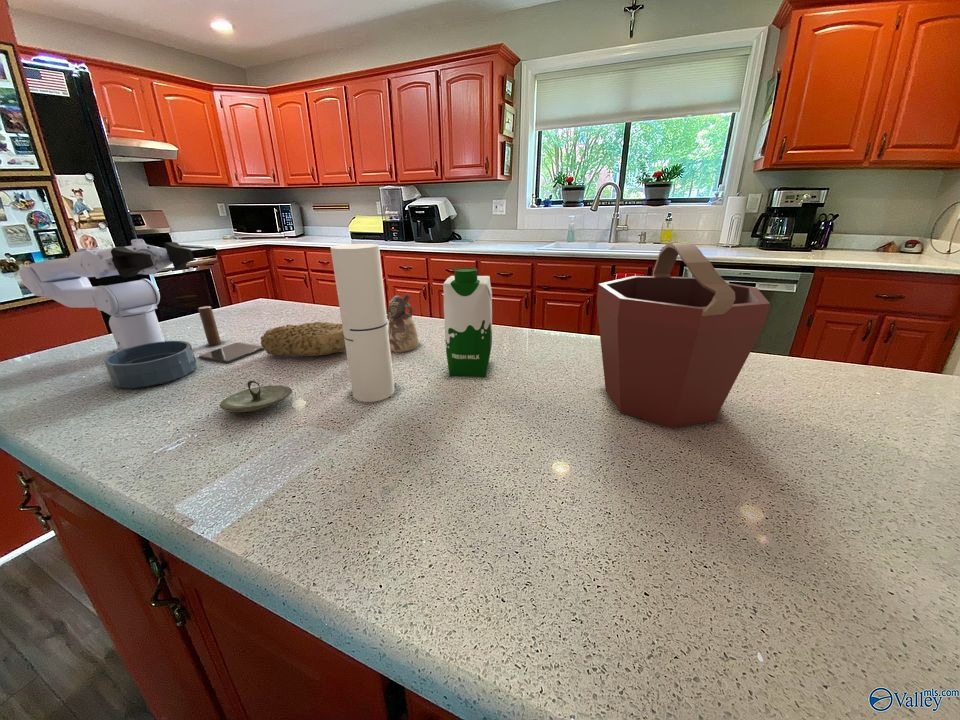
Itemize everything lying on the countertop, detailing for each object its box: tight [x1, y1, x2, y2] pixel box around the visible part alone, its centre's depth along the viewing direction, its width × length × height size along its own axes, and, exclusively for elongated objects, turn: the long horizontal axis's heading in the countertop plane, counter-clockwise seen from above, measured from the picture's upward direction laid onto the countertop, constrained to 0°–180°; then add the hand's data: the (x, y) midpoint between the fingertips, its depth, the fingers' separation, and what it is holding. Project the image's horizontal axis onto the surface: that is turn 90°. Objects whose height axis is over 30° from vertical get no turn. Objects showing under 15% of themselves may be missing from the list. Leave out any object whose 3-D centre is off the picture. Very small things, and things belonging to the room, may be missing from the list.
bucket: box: [596, 242, 771, 429], centre depth 61 cm, size 24×22×25 cm
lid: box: [219, 380, 293, 413], centre depth 65 cm, size 11×10×5 cm
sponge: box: [260, 321, 346, 357], centre depth 87 cm, size 13×8×20 cm
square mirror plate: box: [199, 342, 264, 364], centre depth 89 cm, size 9×9×1 cm
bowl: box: [103, 340, 198, 388], centre depth 77 cm, size 13×13×5 cm
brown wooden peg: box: [197, 305, 222, 347], centre depth 93 cm, size 3×3×9 cm
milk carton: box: [442, 267, 493, 378], centre depth 75 cm, size 9×9×20 cm
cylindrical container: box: [329, 243, 395, 403], centre depth 65 cm, size 7×7×25 cm
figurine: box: [386, 293, 419, 353], centre depth 89 cm, size 7×7×12 cm
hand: (171, 257), depth 78 cm, fingers open, 7 cm apart
